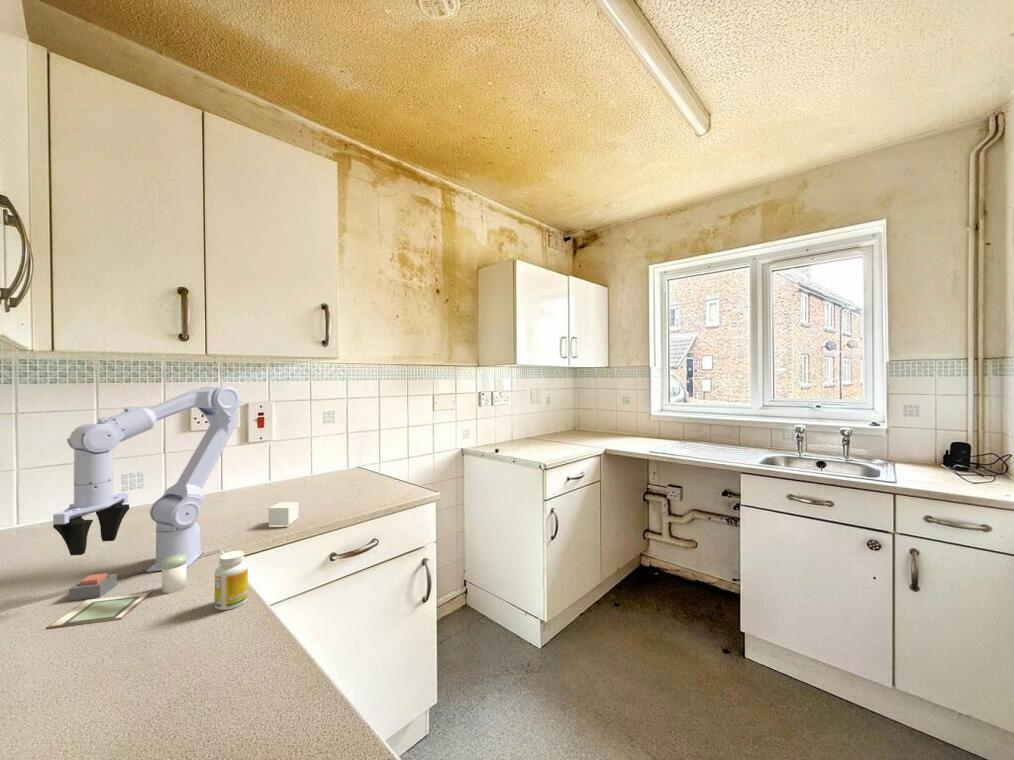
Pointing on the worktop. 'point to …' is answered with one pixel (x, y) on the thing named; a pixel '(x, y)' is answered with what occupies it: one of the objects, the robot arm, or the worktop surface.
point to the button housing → (92, 589)
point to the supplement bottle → (231, 581)
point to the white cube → (283, 513)
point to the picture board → (100, 610)
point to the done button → (93, 579)
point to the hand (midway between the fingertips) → (93, 547)
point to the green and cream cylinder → (173, 573)
